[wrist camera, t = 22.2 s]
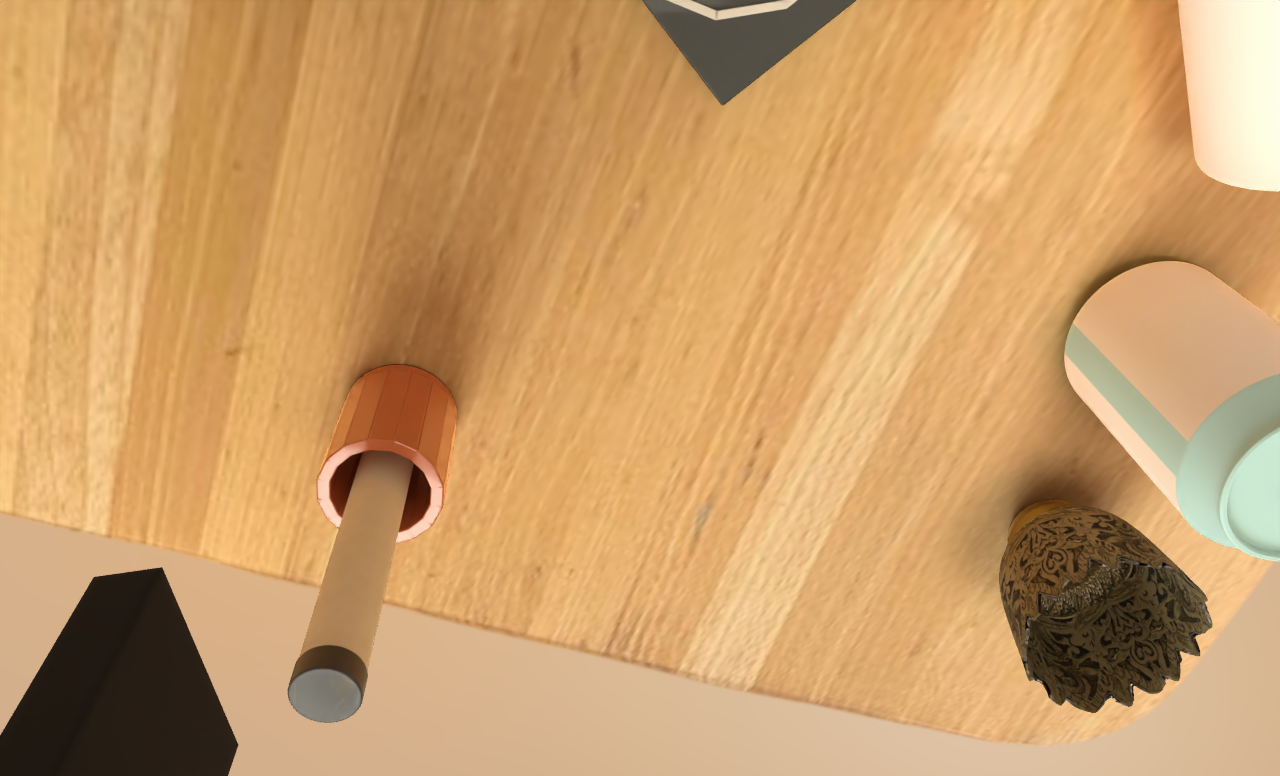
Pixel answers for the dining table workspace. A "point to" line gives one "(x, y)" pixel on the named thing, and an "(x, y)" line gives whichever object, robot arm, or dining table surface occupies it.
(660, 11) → the slate
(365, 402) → the pen pot
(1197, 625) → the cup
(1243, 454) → the can
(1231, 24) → the mug
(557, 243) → the dining table surface
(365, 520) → the marker
